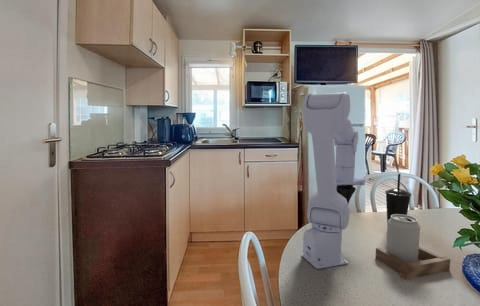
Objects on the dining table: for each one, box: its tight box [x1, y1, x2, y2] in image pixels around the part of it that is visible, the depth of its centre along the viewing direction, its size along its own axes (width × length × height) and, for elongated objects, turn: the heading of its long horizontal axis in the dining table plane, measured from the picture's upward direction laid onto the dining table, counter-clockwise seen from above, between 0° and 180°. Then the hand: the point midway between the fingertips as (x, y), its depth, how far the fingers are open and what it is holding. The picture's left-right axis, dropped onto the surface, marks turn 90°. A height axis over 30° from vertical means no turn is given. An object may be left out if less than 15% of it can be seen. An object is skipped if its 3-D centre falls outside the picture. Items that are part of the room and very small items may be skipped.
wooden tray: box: [374, 246, 451, 281], centre depth 73 cm, size 14×10×3 cm
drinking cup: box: [385, 173, 412, 225], centre depth 94 cm, size 8×8×20 cm
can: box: [385, 214, 421, 263], centre depth 75 cm, size 8×8×12 cm
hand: (343, 208), depth 90 cm, fingers closed
